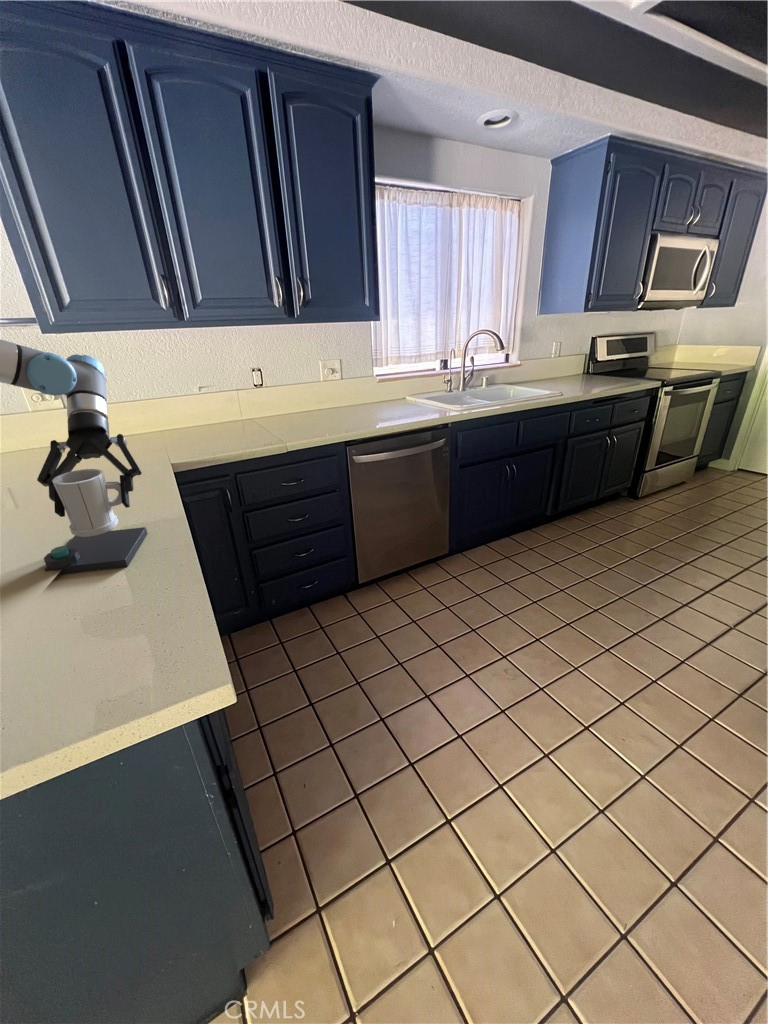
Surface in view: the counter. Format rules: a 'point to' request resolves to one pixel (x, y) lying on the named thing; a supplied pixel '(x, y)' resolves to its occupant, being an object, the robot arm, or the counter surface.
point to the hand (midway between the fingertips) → (93, 509)
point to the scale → (98, 552)
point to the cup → (88, 501)
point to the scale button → (59, 552)
